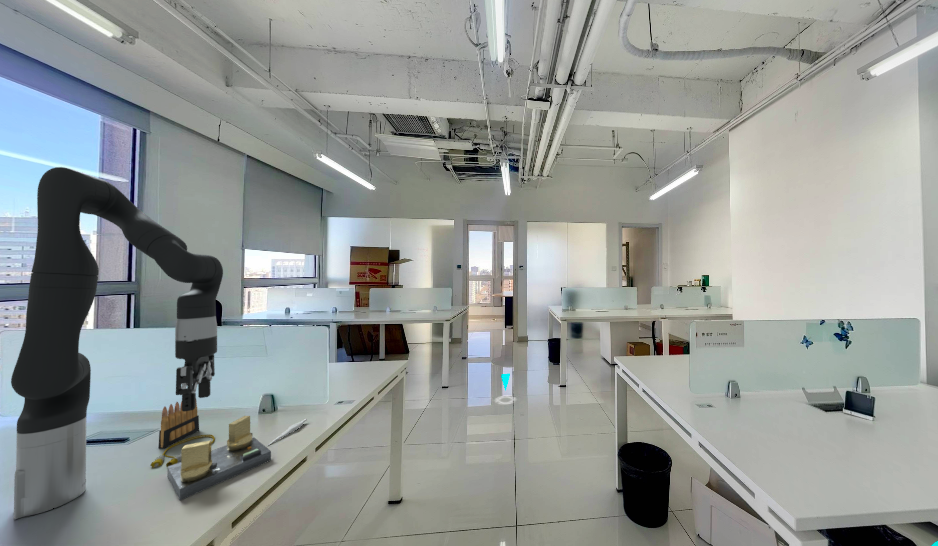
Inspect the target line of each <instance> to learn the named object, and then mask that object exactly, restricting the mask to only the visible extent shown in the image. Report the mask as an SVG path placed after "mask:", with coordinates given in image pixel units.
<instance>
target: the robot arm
mask: <svg viewBox="0 0 938 546" xmlns="http://www.w3.org/2000/svg"><path fill="white" fill-rule="evenodd" d="M37 185H38V186H37V193H36V194H37V195H36V196H37V198H36V199H37V201H36V202H37V203H36V204H37V207H36V209H37V233H36V241H35V242H36V243H35V252H34V260H33V263H32V268H31V273H30V279H29V287H28V294H27V295H28V296H27V297H28V298H27V305H26V313H25V315H26V316H25V331H24V332H25V333H24V337H23V341H22V345H21V347H20V351H19V353H18V356H17V360H16V362H15V365H14V369H13V370H12V371H13V372H12V375H11V378H10V379H11V380H10V385H11V388H12V389H13V390H14V392H15V393H16V394H17V395H18V396H21V397H23V398H24V402H23V407H22V410H21V412H20V415H19V417H18V418H17V421H16V445H15V446H16V451H15V453H16V454H15V455H16V456H15V460H16V461H15V470H14V471H15V472H14V479H13V480H14V481H13V482H14V484H13V485H14V488H13V491H14V494H13V498H14V499H13V520H17V519H21V518H24V517H29V516H34V515H37V514H38V515H39V514H41V513H46V512H47V511H51V510H53V508H54V509H56V508H58V507H60V506H64V505H65V504H68V503H70V502H72V501H73V500H75V499H77V498H78V497H79V496H81V495H82V494H84V493H85V491H86V488H87V415H88V414H87V413H88V412H87V411H88V406H89V402H90V397H91V396H90V395H91V378H92V377H91V374H92V373H91V371H92V369H91V363H90V361H89V359H88V357H87V356H85V355H84V354H83V353H81V352H80V351H79V350H80V349H79V347H80V337H81V336H80V335H81V330H82V328H83V325H84V323H85V321H86V319H87V317H88V314H89V312H90V310H91V307H92V306H93V303H94V301H95V297H96V294H97V287H98V281H99V270H100V269H99V265H98V262H97V259H96V258H95V256H94V254H93V253H92V251H91V250H90V249H89V247H88V245H87V244H86V242H85V240H84V238H83V235H82V234H81V229H80V228H81V227H80V221H81V220H80V219H81V213H82V214H86V215H94V216H97V217H98V218H99V217H100V218H101V219H104V220H106V221H107V222H110V223H112V224H113V225H115V226H117V227H118V228H119V229H120V230H121V232H122V234H123V236H124V238H125V239H126V240H127V242H129V243H130V244H131V245H132V246H133V247H134V248H136V249H138V250H139V251H140V252H142V253H143V254H145V255H146V256H147V257H149V258H151V259H152V260H154V261H155V263H156V264H157V265H158V267H160V269H161V270H162V271H163V273H165V274H166V276H168V277H169V278H171V279H172V280H175V281H177V282H179V283H183V284H191V287H190V289H189V291H188V292H186V293H183V294H181V295H179V296H178V297H177V300H176V323H175V328H174V330H175V331H174V332H175V333H174V335H175V336H174V339H175V340H174V342H175V343H174V344H175V345H174V349H175V351H174V355H175V359H178V360H184V365H183V366H181V367H180V366H179V367H177V368H176V370H175V371H176V372H175V373H176V375H175V377H176V378H175V395H176V396H181V401H182V411H184V412H185V411H191V410H194V409H195V408H196V401H197V396H196V395H198V398H199V399H203V398H208V397H210V396H211V381H212V380H213V377H215V374H216V373H215V369H216V368H215V354H217V352H218V323H217V305H216V300H217V298H218V297H217V296H218V294H219V290H220V287H221V284H222V282H223V275H224V269H223V265H222V263H221V261H220V260H219V259H218V258H217V257H215V256H212V255H207V254H199V253H191V252H189V251H188V245H187V243H186V242H185V241H184V240H183V239H182V238H180V237H179V236H177V235H176V234H174V233H173V232H172V231H169V230H168V229H166V228H165V227H163V226H162V225H160V224H159V223H158V222H156V221H155V220H153V219H152V218H151V217H149V216H148V215H146V214H145V213H144V212H143V211H142V210H141V209H140V208H138V207H137V206H136V205H135V204H134V203H133V202H132V201H131V200H130V199H129V198H128V197H127V196H126V195H125V194H124V193H122V191H121V190H119V188H117V187H116V186H115V185H113V184H112V183H110V182H109V181H107V180H105V179H102V178H99V177H96V176H93V175H90V174H87V173H85V172H83V171H82V172H81V171H79V170H75V169H72V168H69V167H65V166H56V167H52V168H50V169H48V170H46V172H44V174H42V176H41V178H40V179H39V182H38V184H37ZM197 389H198V390H197ZM196 391H198V394H197V393H196Z"/></svg>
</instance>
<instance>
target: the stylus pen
mask: <svg viewBox="0 0 938 546" xmlns="http://www.w3.org/2000/svg"><path fill="white" fill-rule="evenodd" d="M307 421H308V420H307V418H304V419H303V420H300V421H299V422H296V423H294V424H291V425H289V427H288V428H286V430H285V431H283V432H281V434H280V435H278V436H277V437H276V438H274V439H273V440H272V441H271V442H270V443H268V444H267V446H266V447H269V446H271V445H272V444H271V443H273V442H274V443H276V442H278V441H280V440H281V439H280V438H282V437H284V436H286V435H287V436H289V435H290V434H289V433H291V432H292V433H294V432H293V431H295V430H297V429H298V428H299V427H300V428H302V427H303V426H304V425H303V423H305V422H307ZM302 425H303V426H302ZM301 426H302V427H301ZM300 428H299V429H300ZM299 429H298V430H299ZM298 430H297V431H298ZM295 432H296V431H295ZM292 433H291V434H292ZM288 434H289V435H288ZM287 436H286V437H287ZM284 438H285V437H284ZM279 439H280V440H279ZM282 439H283V438H282ZM277 440H278V441H277ZM275 441H276V442H275ZM274 443H273V444H274ZM270 444H271V445H270ZM268 445H269V446H268Z"/></svg>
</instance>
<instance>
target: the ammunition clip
mask: <svg viewBox="0 0 938 546" xmlns="http://www.w3.org/2000/svg"><path fill="white" fill-rule="evenodd" d="M168 407H169V408H168V409H167V406H166V405H165V406H163V409H162V412H161V421H160V430H159V431H158V433H159V435H158V449H167V448H168V447H170V446H171V445H173V444H175V443H177V442H180V441H182V440H185V439H187V438H189V437H190V436H191V435H193V434H196V433H197V431H198V432H199V431H200V419H199V418H200V417H199V415H198V403H197V400H196V408H195V409H194V410H191V411H185V412H184V411H182V400H181V402H180V404H179V402H178V401H176V402H175V404H174V405H173V404H172V403H170V405H169V406H168Z"/></svg>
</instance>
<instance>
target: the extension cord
mask: <svg viewBox="0 0 938 546" xmlns="http://www.w3.org/2000/svg"><path fill="white" fill-rule="evenodd" d="M201 438H210V439H211V445H212V443H213V444H214V443H215V442H216V441H215V440H216V438H215V435H213V434H201V435H195V436H191V437H187V438H184V439H182V440H180V441H178V442H176V443H174V444H172V445H170V446H168V447H166V448H165V450H164V451H163V453H162V455H161V454H160V455H159V456H158V457H156V458H155V459H154V461H152V462H151V463H150V465H149V466H150V467H151V468H152V469H153V468H156V467H160V466H161V467H162V465H163V463H164V460H165V457H166V458H168V459H169V458H171V459H170V460H169V461H167V463H166V465H165V466H166V468H168V466H171V465H174V464H177V463H179V462H181V453H180V454H178V455H174V456H173V455H172V456H171V455H168V454H166V452H167V451H169V450H171V448H175V447H176V446H179V445H181V444H184V443H187V442H190V441H193V440H197V439H201Z"/></svg>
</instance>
